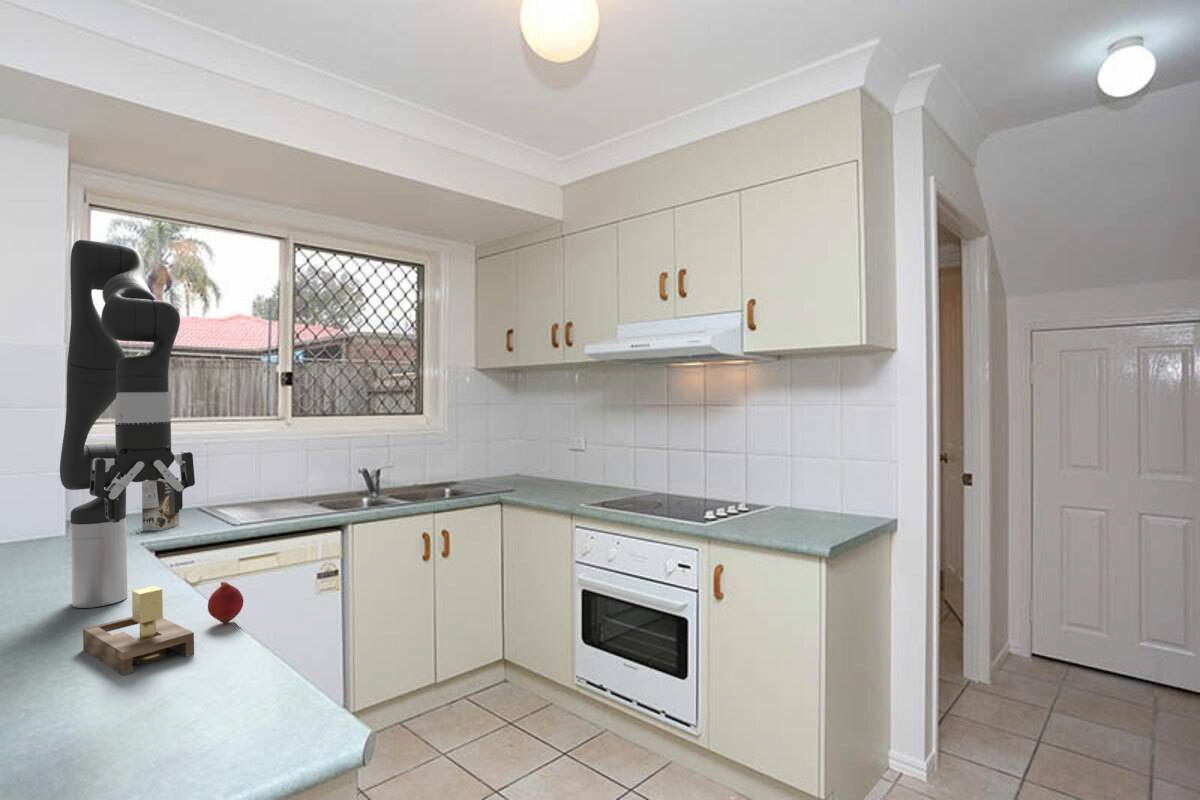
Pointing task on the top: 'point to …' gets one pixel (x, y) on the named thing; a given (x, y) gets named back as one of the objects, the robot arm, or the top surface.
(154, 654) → the keyhole peg
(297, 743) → the top surface
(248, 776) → the top surface
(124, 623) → the keyhole plate
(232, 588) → the onion
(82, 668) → the top surface
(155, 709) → the top surface
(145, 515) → the coffee box
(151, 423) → the robot arm
